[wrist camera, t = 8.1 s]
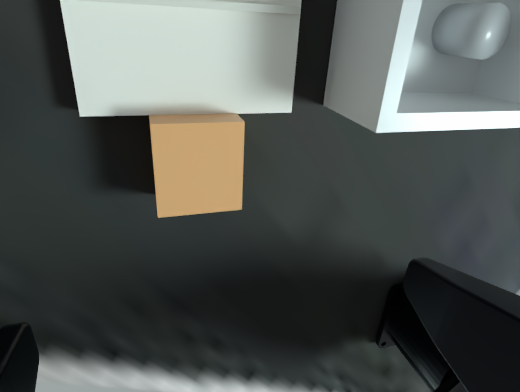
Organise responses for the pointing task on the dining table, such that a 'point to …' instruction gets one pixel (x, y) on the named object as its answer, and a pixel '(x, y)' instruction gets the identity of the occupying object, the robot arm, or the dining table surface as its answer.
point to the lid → (186, 83)
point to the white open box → (426, 64)
